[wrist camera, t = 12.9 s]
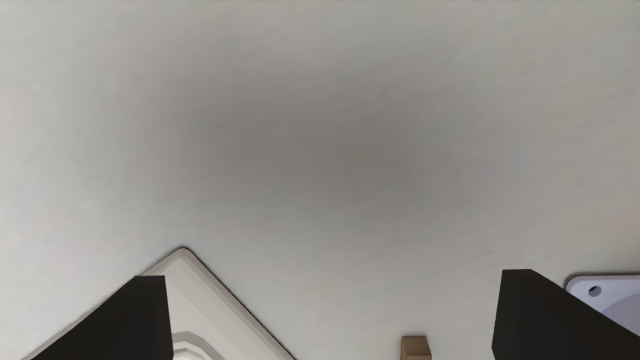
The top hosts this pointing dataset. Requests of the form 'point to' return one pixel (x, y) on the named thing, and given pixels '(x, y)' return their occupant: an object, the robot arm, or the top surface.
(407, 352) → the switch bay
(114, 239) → the top surface
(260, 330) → the light switch
